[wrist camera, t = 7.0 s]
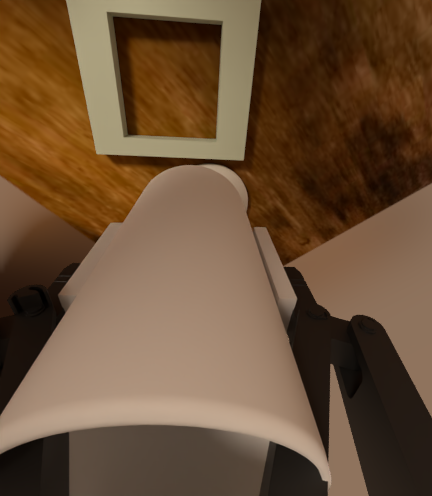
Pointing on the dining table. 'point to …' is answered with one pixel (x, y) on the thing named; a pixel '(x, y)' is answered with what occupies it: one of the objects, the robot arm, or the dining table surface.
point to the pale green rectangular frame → (109, 81)
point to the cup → (171, 357)
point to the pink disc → (230, 179)
